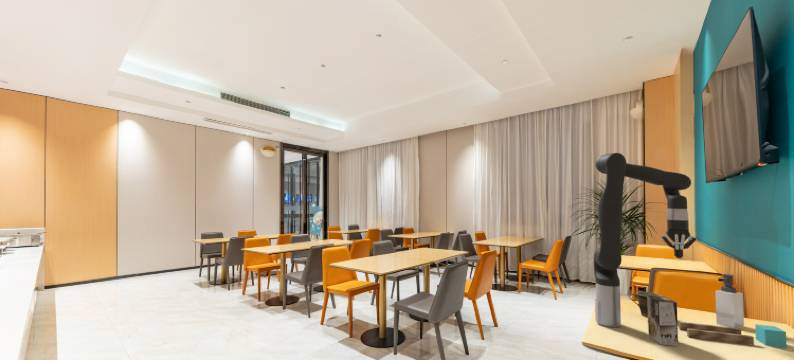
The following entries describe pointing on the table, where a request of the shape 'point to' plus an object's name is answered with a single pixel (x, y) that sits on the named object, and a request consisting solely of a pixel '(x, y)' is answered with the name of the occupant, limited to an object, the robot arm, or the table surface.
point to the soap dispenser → (729, 304)
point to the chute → (716, 333)
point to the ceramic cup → (643, 301)
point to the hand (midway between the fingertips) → (678, 257)
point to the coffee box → (662, 320)
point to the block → (771, 336)
